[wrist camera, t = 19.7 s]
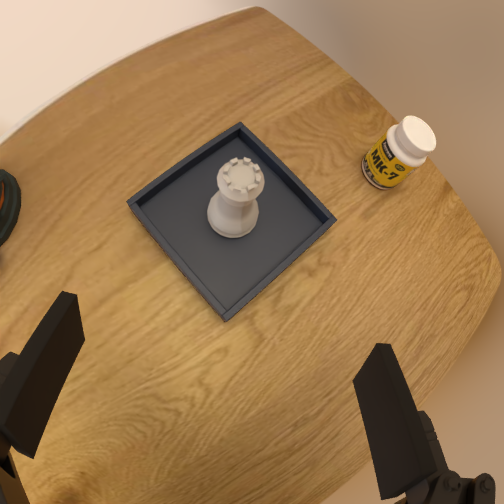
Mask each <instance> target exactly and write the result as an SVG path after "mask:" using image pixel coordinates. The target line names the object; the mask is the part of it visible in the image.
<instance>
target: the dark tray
mask: <svg viewBox="0 0 504 504" xmlns="http://www.w3.org/2000/svg"><path fill="white" fill-rule="evenodd" d="M244 157H245V158H249V159H251V161H250V162H252V163H253V164H258V166H259V167H260V170H261V172H262V173H263V175H264V182H265V183H264V187H263V190H262V192H261V193H260V194H259V195H258V196H257V197H256V199H255V200H256V201H257V203H258V210H259V214H258V218H257V222H256V225H255V227H254V228H253V229H252V230H251V231H250V233H248V234H246V235H244V236H242V237H237V238H229V237H225V236H222V235H220V234H219V233H217V232H216V231H215V230H214V229H213V228H212V227H211V225H210V223H209V221H208V215H207V210H208V206H209V203H210V200H211V198H212V197H213V196H214V195H215V194H216V193H217V192H218V191H219V187H218V183H217V176H218V173H219V170H220V169H221V168H222V167H223V166H224V165H225V164H226V163H228V162H230V160H232V159H234V158H237V159H238V160H243V159H244ZM126 202H127V203H128V205H129V207H130V209H131V210H132V212H133V213H134V214H135V215H136V217H137V218H138V219H139V221H140V222H141V223H142V224H143V226H144V227H145V228H146V229H147V231H148V232H149V233H150V234H151V236H152V237H153V238H154V239H155V241H156V242H157V243H158V244H159V246H160V247H161V248H162V249H163V250H164V252H165V253H166V254H167V255H168V256H169V258H170V259H171V260H172V261H173V262H174V264H175V265H176V266H177V267H178V268H179V270H180V271H181V272H182V273H183V274H184V276H185V277H186V278H187V279H188V280H189V281H190V283H191V284H192V285H193V286H194V287H195V288H196V290H197V291H198V292H199V293H200V294H201V295H202V297H203V298H204V299H205V300H206V301H207V302H208V303H209V305H210V306H211V307H212V308H213V309H214V310H215V311H216V312H217V314H218V315H219V316H220V317H221V318H222V319H223V320H224V321H225V322H227V321H228V320H229V319H230V318H232V317H233V316H234V315H235V314H236V313H237V312H238V311H239V310H241V309H242V308H243V307H244V306H245V305H246V304H247V303H248V302H249V301H251V300H252V299H253V298H254V297H255V296H256V295H257V294H258V293H259V292H261V291H262V290H263V289H264V288H265V287H266V286H267V285H268V284H269V283H270V282H272V281H273V280H274V279H275V278H276V277H277V276H278V275H279V274H280V273H281V272H282V271H284V270H285V269H286V268H287V267H288V266H289V265H290V264H291V263H292V262H293V261H294V260H295V259H297V258H298V257H299V256H300V255H301V254H302V253H303V252H304V251H305V250H306V249H307V248H308V247H309V246H310V245H312V244H313V243H314V242H315V241H316V240H317V239H318V238H319V237H320V236H321V235H322V234H323V233H324V232H325V231H326V230H327V229H329V228H330V227H331V226H332V225H333V224H334V223H335V222H336V221H337V219H336V218H335V217H334V215H332V213H331V212H330V211H329V210H328V209H327V208H326V207H325V206H324V205H323V204H322V203H321V202H320V200H319V199H318V198H317V197H316V196H315V195H314V194H313V193H312V192H311V191H310V190H309V189H308V188H307V187H306V186H305V185H304V184H303V183H302V182H301V181H300V179H299V178H298V177H297V176H296V175H295V174H294V173H293V172H292V171H291V170H290V169H289V168H288V167H287V166H286V165H285V164H284V163H283V162H282V161H281V160H280V159H279V158H278V157H277V156H276V155H275V154H274V153H273V152H272V151H271V150H270V149H269V148H268V147H267V146H266V145H265V144H263V143H262V142H261V141H260V140H259V139H258V138H257V137H256V136H255V135H254V134H253V133H252V132H251V131H250V130H249V129H248V128H247V127H246V126H244V124H243V123H242V122H239V123H237V124H236V125H234V126H232V127H231V128H229V129H228V130H226V131H224V132H223V133H221V134H220V135H218V136H217V137H215V138H214V139H212V140H210V141H209V142H207V143H206V144H204V145H203V146H201V147H200V148H198V149H197V150H196V151H194V152H193V153H191V154H190V155H188V156H187V157H185V158H184V159H182V160H181V161H180V162H178V163H177V164H175V165H174V166H173V167H171V168H170V169H168V170H167V171H166V172H164V173H163V174H161V175H160V176H159V177H157V178H156V179H155V180H153V181H152V182H151V183H149V184H148V185H147V186H145V187H144V188H143V189H141V190H140V191H139V192H137V193H136V194H135V195H134V196H132V197H131V198H130V199H128V200H127V201H126Z"/></svg>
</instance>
